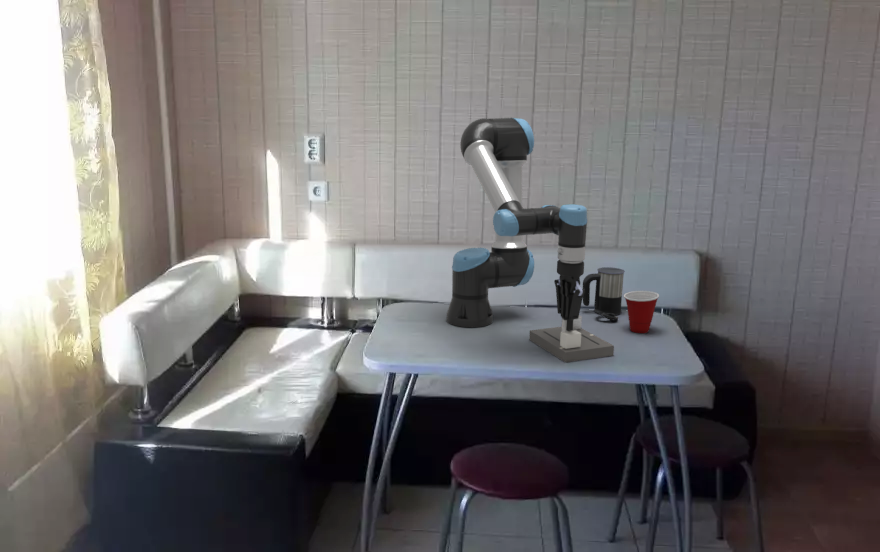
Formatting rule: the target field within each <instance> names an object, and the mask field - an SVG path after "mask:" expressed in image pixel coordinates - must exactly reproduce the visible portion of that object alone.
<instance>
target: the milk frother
mask: <svg viewBox="0 0 880 552" xmlns="http://www.w3.org/2000/svg"><path fill="white" fill-rule="evenodd" d="M625 272H626V271H625V270H624V269H621V268H619V267H618V268H617V267H613V266H612V267H611V266H609V267H608V266H607V267H597V273H590V274H587V275H586V276H585V277H584V278H583V280H582V289H585V293H584V295H583V298H582V304H583V305H584V306H585V307H588V306H590V293H591V292H590V291H591V283H592V282H593V281H595V293H594V309H593V311H594V313H596V314H598V315H600V316H602V317H603V318H606V319H607V320H609V321H610V322H614V321H618V320H619V315H621V314H622V313H623V312H622V298H623V288H624V287H623V285H624V274H625Z"/></svg>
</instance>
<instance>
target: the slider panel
mask: <svg viewBox="0 0 880 552" xmlns="http://www.w3.org/2000/svg"><path fill="white" fill-rule="evenodd" d="M572 331H574V330H572ZM576 331H578V332H580V333H581V347H575V348H568V349H565V348H563V347H562V346H560V335H561V332H562V326H555V327H548V328H540V329H539V328H538V329H532V330H529V337H528V338H529V341H531V342H532V343H534V344H535V345H537V346H538V347H540V348H541V349H543V350H545V351H547V353H549V354H551V355H553V356H554V357H556V358H558V359H559V360H560V361H563V362H564V363H571V362H572V363H573V362H579V361H585V360H592V359H599V358H607V357H612V356H614V351H615V346H614V345H613V344H612V343H609V342H608V341H606V340H604V339H602V338H601V337H599V336H597V335H595V334H593V333H591V332H589V331H588V330H586V329H584V328H582V327H581V329H577V330H576ZM578 360H579V361H578Z"/></svg>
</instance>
